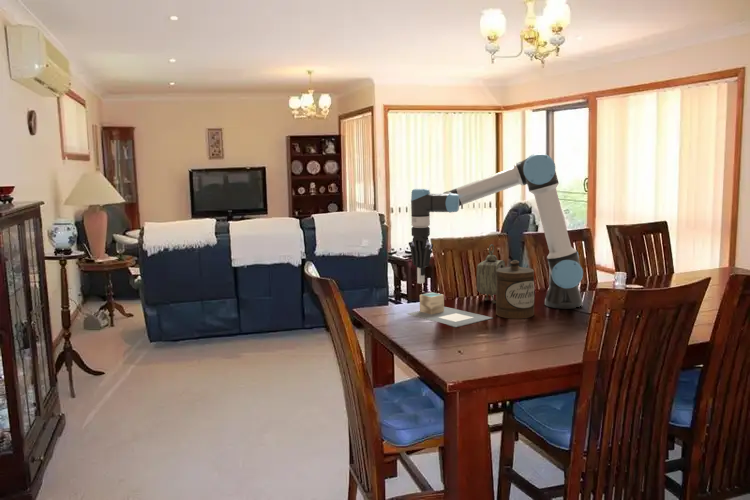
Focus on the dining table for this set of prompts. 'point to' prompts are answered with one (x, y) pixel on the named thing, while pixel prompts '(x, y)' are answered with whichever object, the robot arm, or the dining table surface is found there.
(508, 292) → the wooden container
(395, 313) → the dining table surface
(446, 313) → the mat
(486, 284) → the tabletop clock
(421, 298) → the birch cube
